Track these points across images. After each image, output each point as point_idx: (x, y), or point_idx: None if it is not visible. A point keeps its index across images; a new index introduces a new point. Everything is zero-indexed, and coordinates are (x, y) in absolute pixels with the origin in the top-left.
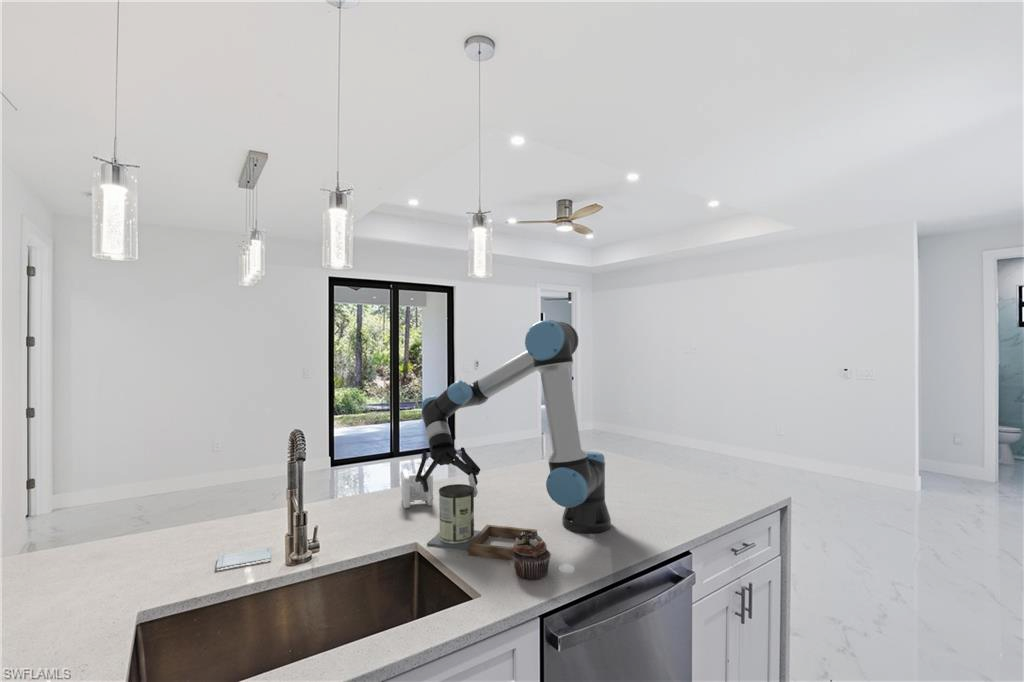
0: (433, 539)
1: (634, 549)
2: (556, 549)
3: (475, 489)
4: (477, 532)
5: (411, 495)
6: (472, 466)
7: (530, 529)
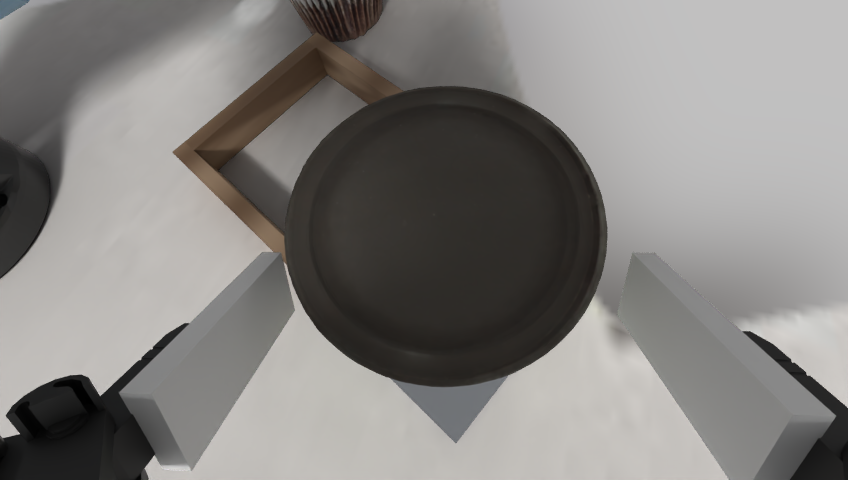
0: None
1: (43, 33)
2: (199, 96)
3: (260, 266)
4: None
5: None
6: None
7: (189, 162)
